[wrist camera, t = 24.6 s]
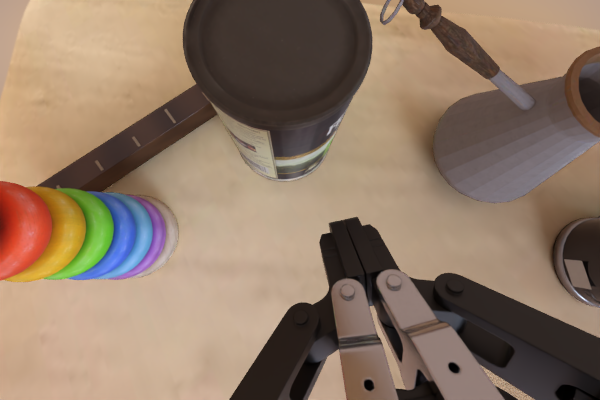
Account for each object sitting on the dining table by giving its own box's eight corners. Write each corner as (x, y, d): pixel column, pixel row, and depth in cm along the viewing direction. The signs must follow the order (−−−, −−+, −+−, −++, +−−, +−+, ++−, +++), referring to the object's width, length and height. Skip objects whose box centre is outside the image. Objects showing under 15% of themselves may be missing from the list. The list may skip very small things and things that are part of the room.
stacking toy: (197, 239, 26) (-43, 255, 7) (132, 293, 25) (-351, 478, 6) (150, 181, 26) (-190, 53, 8) (84, 231, 25) (-493, 227, 7)
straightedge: (277, 49, 29) (276, 31, 26) (290, 65, 29) (290, 49, 26) (56, 193, 25) (30, 188, 23) (69, 212, 25) (45, 210, 23)
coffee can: (336, 101, 28) (385, -27, 14) (321, 189, 27) (358, 142, 13) (247, 83, 28) (206, -65, 14) (226, 171, 27) (159, 104, 13)
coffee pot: (526, 124, 29) (777, 9, 14) (510, 219, 27) (773, 202, 12) (350, 70, 29) (417, -102, 14) (323, 163, 27) (366, 79, 12)
